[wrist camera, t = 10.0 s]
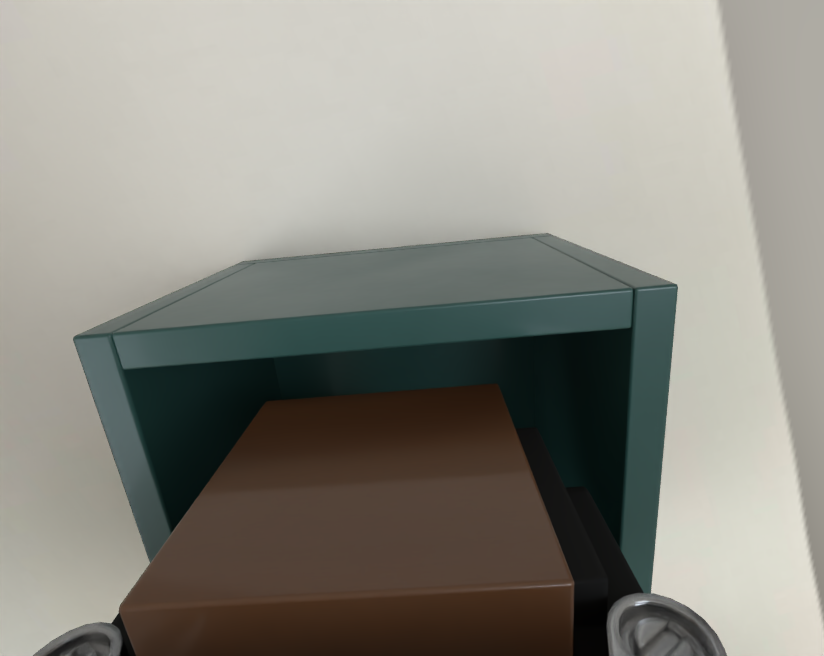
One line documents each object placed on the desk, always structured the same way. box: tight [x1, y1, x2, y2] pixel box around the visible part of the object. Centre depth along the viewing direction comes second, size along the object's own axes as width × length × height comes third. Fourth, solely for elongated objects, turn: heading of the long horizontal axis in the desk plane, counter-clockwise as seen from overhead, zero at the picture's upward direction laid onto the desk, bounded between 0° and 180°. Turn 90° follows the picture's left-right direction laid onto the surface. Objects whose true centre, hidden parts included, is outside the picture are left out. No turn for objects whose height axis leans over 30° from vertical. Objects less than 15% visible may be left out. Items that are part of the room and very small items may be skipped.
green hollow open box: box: [73, 233, 678, 594], centre depth 15 cm, size 14×12×9 cm
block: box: [119, 383, 574, 656], centre depth 8 cm, size 5×5×5 cm
